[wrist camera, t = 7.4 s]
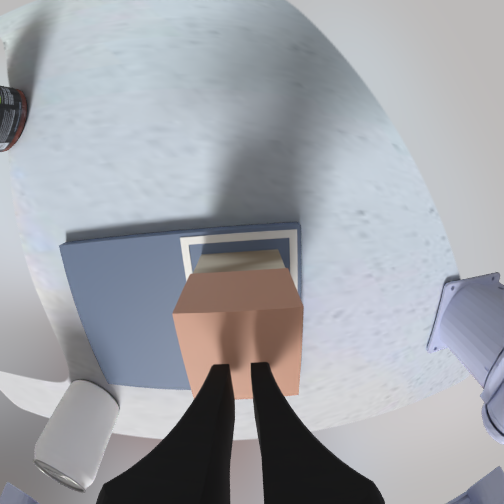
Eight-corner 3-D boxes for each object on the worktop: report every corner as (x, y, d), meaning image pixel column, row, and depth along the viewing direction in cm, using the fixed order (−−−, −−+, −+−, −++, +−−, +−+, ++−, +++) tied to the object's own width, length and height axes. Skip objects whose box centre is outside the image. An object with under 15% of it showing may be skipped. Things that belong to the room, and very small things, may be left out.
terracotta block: (288, 267, 14) (303, 306, 10) (287, 346, 15) (298, 394, 12) (190, 273, 14) (172, 313, 10) (203, 350, 15) (194, 399, 12)
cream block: (278, 249, 18) (287, 272, 14) (279, 315, 19) (287, 349, 16) (201, 254, 18) (190, 279, 14) (210, 319, 19) (203, 354, 15)
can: (129, 417, 25) (102, 500, 13) (88, 412, 25) (56, 484, 13) (104, 378, 23) (60, 469, 11) (62, 375, 23) (17, 449, 11)
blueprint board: (297, 222, 18) (300, 225, 17) (295, 377, 23) (297, 385, 22) (65, 242, 18) (58, 246, 17) (111, 377, 22) (107, 384, 21)
